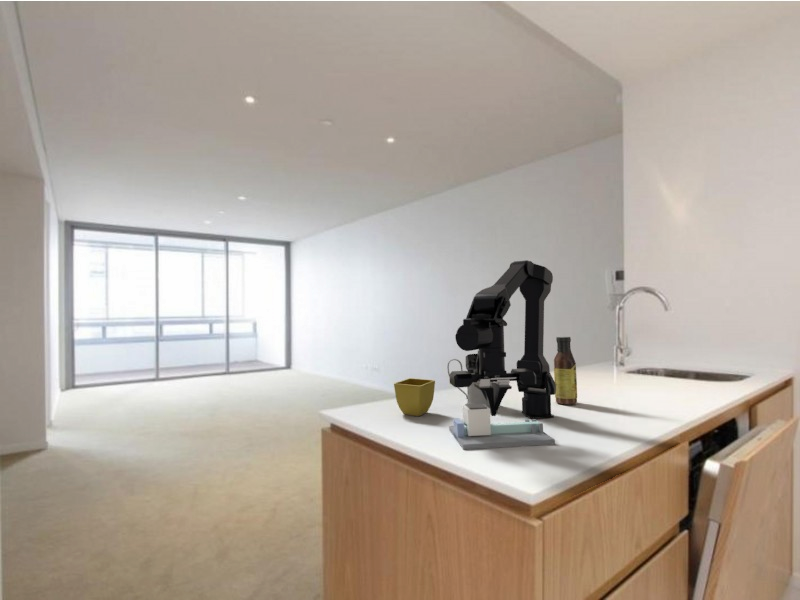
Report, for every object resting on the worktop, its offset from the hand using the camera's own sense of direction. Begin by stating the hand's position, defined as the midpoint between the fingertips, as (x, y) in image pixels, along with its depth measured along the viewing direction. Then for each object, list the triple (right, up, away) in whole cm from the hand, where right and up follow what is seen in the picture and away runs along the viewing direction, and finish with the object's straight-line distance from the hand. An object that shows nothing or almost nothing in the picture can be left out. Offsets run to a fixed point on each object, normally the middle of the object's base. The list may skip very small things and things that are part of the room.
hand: (493, 415), depth 98 cm
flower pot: (-17, -6, +23) cm, 29 cm away
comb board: (+1, -5, 0) cm, 5 cm away
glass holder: (0, -5, +31) cm, 32 cm away
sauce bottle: (+29, -5, +31) cm, 42 cm away
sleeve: (-4, -4, 0) cm, 5 cm away
